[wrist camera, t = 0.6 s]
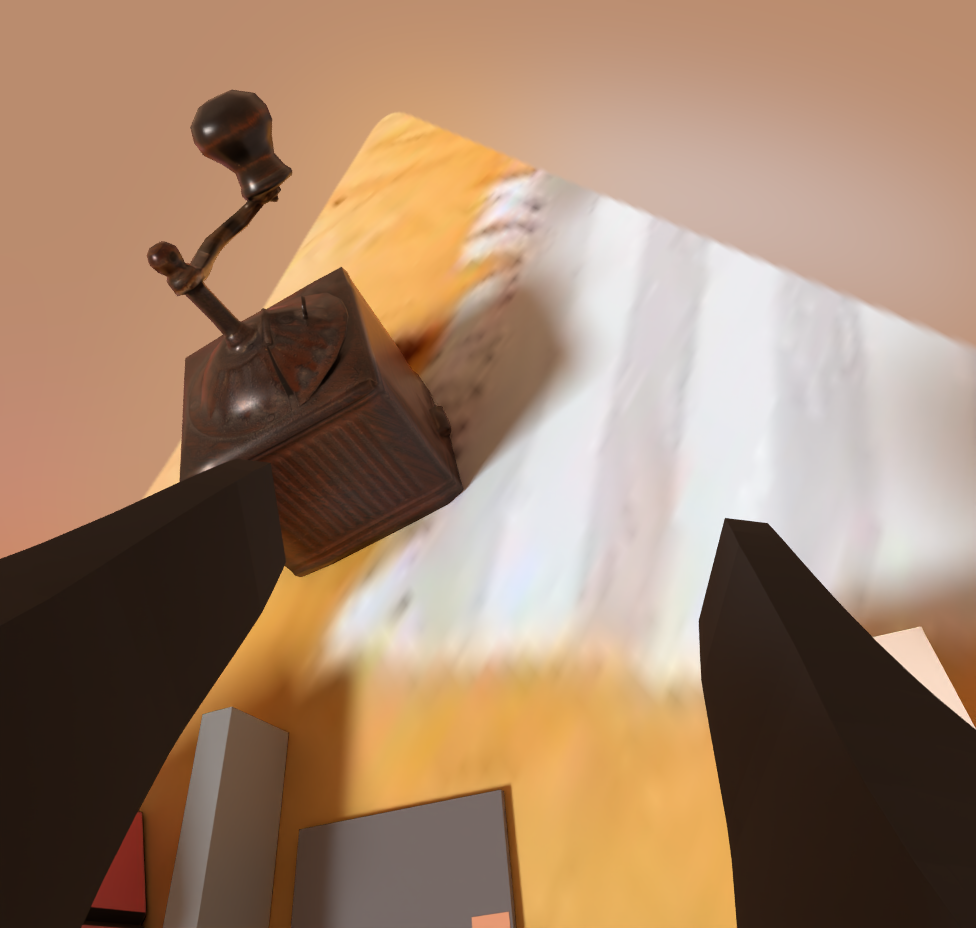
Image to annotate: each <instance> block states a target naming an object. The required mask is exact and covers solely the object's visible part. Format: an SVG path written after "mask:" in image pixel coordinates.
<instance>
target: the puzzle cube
mask: <svg viewBox="0 0 976 928" xmlns="http://www.w3.org/2000/svg"><path fill="white" fill-rule="evenodd" d="M145 916H146V901H145V876H144V851H143V826H142V812H140V811H138V812H137V814H136V816H135V818H134V820H133V822H132V824H131V826H130V828H129V830H128V832H127V834H126V836H125V838H124V840H123V842H122V844H121V846H120V848H119V850H118V852H117V854H116V856H115V858H114V860H113V862H112V864H111V866H110V868H109V870H108V872H107V874H106V876H105V878H104V880H103V882H102V884H101V886H100V888H99V891H98V893H97V895H96V897H95V899H94V901H93V904H92V906H91V908H90V910H89V912H88V914H87V916H86V919H85V921H84V923H83V925H82V927H81V928H144V927H142V926H141V925H140V924H141V923H142V921H143V920H144V919H145Z"/></svg>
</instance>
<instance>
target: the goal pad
mask: <svg viewBox="0 0 976 928" xmlns="http://www.w3.org/2000/svg"><path fill="white" fill-rule="evenodd" d="M291 928H516V921H515V910H514V899H513V888H512V877H511V866H510V855H509V844H508V833H507V822H506V811H505V800H504V791H502V790H497V791H492V792H486V793H481V794H476V795H471V796H466V797H461V798H456V799H451V800H446V801H441V802H436V803H431V804H426V805H421V806H416V807H411V808H406V809H401V810H396V811H391V812H386V813H380V814H375V815H370V816H365V817H360V818H355V819H350V820H345V821H340V822H335V823H330V824H325V825H320V826H315V827H310V828H305V829H300V830H299V839H298V851H297V862H296V874H295V886H294V897H293V909H292V921H291Z"/></svg>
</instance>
